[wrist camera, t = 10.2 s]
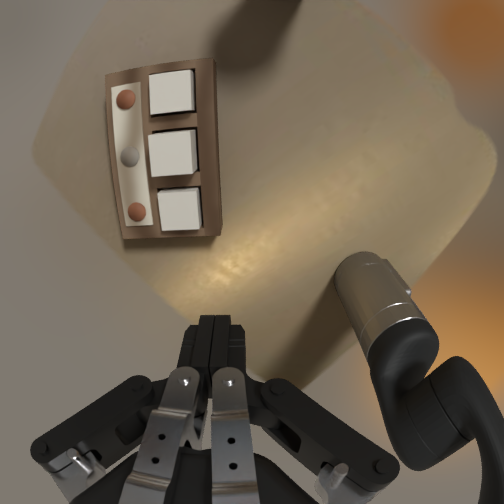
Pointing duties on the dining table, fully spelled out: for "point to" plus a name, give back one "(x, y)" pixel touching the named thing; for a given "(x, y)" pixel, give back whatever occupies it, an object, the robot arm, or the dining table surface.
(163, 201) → the button
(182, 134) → the button
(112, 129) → the button panel
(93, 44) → the dining table surface
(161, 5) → the dining table surface
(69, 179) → the dining table surface
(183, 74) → the button
